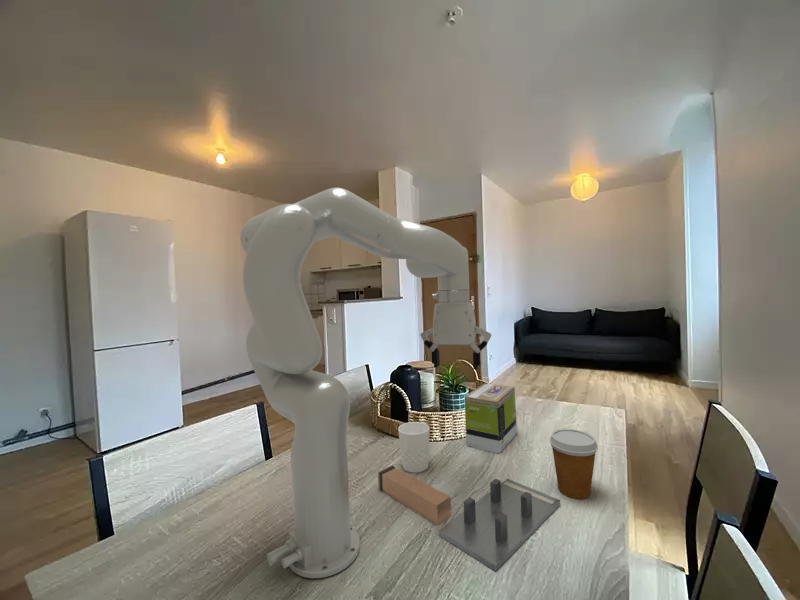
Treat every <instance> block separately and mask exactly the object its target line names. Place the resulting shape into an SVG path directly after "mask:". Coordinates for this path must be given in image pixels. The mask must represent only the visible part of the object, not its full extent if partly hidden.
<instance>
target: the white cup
mask: <svg viewBox="0 0 800 600" xmlns="http://www.w3.org/2000/svg"><path fill="white" fill-rule="evenodd" d="M397 430H398V438H399V439H398V440H399V441H398V442H399V450H400V457H401V458H400V459H401V467H402V469H403V470H405V472H408V473H413V474H415V473H417V474H418V473H421V472H425V471H426V470H428V468H429V465H430V463H429V457H430V425H428V424H427V423H424V422H421V421H410V422H405V423H402V424H400V425H399V426H398V428H397Z"/></svg>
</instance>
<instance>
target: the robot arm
mask: <svg viewBox="0 0 800 600" xmlns="http://www.w3.org/2000/svg"><path fill="white" fill-rule="evenodd" d="M239 238H240V244H241V247H242V249H243V251H244V252H245V254H246V256H245V259H244V264H243V270H242V286H243V290H244V291H243V292H244V295H245V298H246V301H247V304H248V306H249V309H250V310H249V311H250V312H251V315H252V319H253V320H254V323H253V324H252V325H251V326H250V329H249V330H248V332H247V335H246V338H245V339H246V340H245V345H246V347H245V349H246V353H247V357H248V359H249V362H250V365H251V366H252V369H253V371H254V373H255V376H256V378H257V379H258V382H259V385H260V387H261V389H262V391H263V393H264V396H265V398H266V400H267V401H268V403H269V405H270V406H271V407H272V409H273V410H274V411H275V413H277V414H278V415H280V416H282V417H284V418H286V419H288V420H289V421H290V422H292V423H293V424H294V435H293V438H292V439H293V440H292V444H291V452H290V463H291V464H290V465H291V480H292V481H291V482H292V498H293V499H292V500H293V515H294V517H293V518H294V520H293V521H294V529H293V530H291V531H289V539H288V540H286V541H285V542H284V545H282V546H280V547H277V548H275V549H273V550H272V551H270V552H269V553H268V552H267V553H266V554H267V555H266V558H267V563H268V565H269V566H270V567H273V566H274V565H277V563H280V562H281V566H282V568H283V569H287V568H288V567H289V569H290V570H291V571H292V572H293V573H294V574H295V575H298V576H300V577H304V578H308V579H323V578H327V577H328V578H329V577H330V576H331V577H332V576H333V575H336V574H338V573H340V572H342V571H344V570H345V569H347V567H349V566H350V565H351V564H352V563H353V562H354V560H356V559H357V556H358V555H359V553H360V548H361V538H360V534H359V532H358V530H357V529H355V527H353V526H352V525H351V514H350V513H351V511H350V493H349V492H350V491H349V471H348V470H349V469H348V466H349V465H348V449H347V443H348V442H347V438H348V436H347V435H348V425H349V416H350V409H351V407H350V406H351V400H350V395H349V392H348V390H347V388H346V387H345V384H343V383H342V381H340V380H339V379H337V378H336V377H334V376H333V375H329V374H328V373H324V372H321V371H320V372H319V371H316V370H313V369H315V368H316V367H317V366H318V364H319V363H320V361H321V359H322V356H323V344H322V343H323V342H322V339H321V337H320V334H319V332H318V329H317V326H316V324H315V321H314V318H313V316H312V313H311V310H310V307H309V306H308V303H307V300H306V297H305V294H304V291H303V287H302V283H301V282H302V281H301V275H302V274H301V272H302V267H303V263H304V262H305V259H306V257H307V255H308V253H309V251H310V250H311V248H312V247H313V245H314V244H316V243H318V242H319V241H323V240H325V239H330V238H336V239H340V240H341V241H344V242H346V243H349V244H351V245H352V246H355V247H358V248H359V249H361V250H363V251H366V252H367V253H369V254H372V255H373V256H376V257H380V258H384V259H385V258H386V259H394V260H406V261H405V264H406V269H407V270H408V272H409V274H411V275H413V276H414V277H417V278H421V279H427V278H430V279H431V278H437V292H435V293H432V299H433V300H437V302H438V303H435V304H434V309H433V316H432V317H433V318H432V319H433V320H432V327H430V328H428V329H426V330H424V331H423V332H421V333H420V338H421V340H422V341H423V343H424V345H425V346H426V347H427V348H428V349H429V351H430V352H431V364H433V367H434V368H435V369H437V368H438V367H440V364H441V363H440V350H439V346H470V347H471V348H472V350H473V353H472V362H473V363H472V365H473V367H472V369H473V370H477V369H478V368H479V366H481V352H482V351H483V349H485V347H486V346H488V343H489V341H490V339H491V338H492V333H491V332H489V331H487V330H484V329H482V328H481V327H479V326H477V325H476V323H477V322H476V315H475V308H474V304H473V303H472V302H470V271H469V269H470V268H469V252H468V249H467V247H465V246H462V244H461V243H460V242H459V241H458V240H456V239H455V238H454V237H452V236H451V235H450V234H447V233H446V232H444V231H442V230H439V229H438V228H434V227H431V226H429V225H426V224H425V225H424V224H421V223H420V224H419V223H416V222H414V221H410V220H406V219H402V218H397V217H395V216H392V215H391V214H390V213H387V212H386V211H384V210H382V209H381V208H379V207H377V206H376V205H374V204H372V203H371V202H369V201H367V200H365V199H364V198H362V197H360V196H358V195H357V194H356V193H353V192H352V191H350V190H348V189H345V188H342V187H330V188H327V189H325V190H321V191H320V192H317V193H315V194H313V195H310V196H308V197H306V198H304V199H301V200H299V201H297V202H294V203H285V204H284V203H283V204H280V205H277V206H275V207H272V208H269V209H267V210H265V211H264V212H262V213H261V212H260V214H257V215H255V216H253V217H251V218H249V220H247V221H246V222H245V223H244V225H243V226H242V229H241V231H240V237H239ZM431 334H432V341H433V342H432V341H431V339H429V335H431ZM477 334H478V335H480V336H482V337H483V339H482V342H481V343H480V344H479V342H477V337H478V336H477Z"/></svg>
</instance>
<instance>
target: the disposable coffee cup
mask: <svg viewBox="0 0 800 600" xmlns="http://www.w3.org/2000/svg"><path fill="white" fill-rule="evenodd" d="M550 435H551V436H550V437H549V443H550V445H551V448H552V449H551V450H552V454H553V463H554V468H555V474H556V481H557V489H558V491H559V492H560V493H561V494H562V495H563V496H565V497H568V498H571V499H576V500H584V499H587V498H589V497H591V491H592V482H593V477H594V476H593V474H594V467H595V460H596V453H597V451H598V448H599V445H598V442H597V441H596V438H595V437H594V436H593V435H591V434H590V433H587V432H584V431H582V430H577V429H571V428H566V429H565V428H563V429H556V430H554V431H552V432H551V434H550Z"/></svg>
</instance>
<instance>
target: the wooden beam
mask: <svg viewBox="0 0 800 600" xmlns="http://www.w3.org/2000/svg"><path fill="white" fill-rule="evenodd" d="M377 483H378V484H377V485H378V486H377V487H378V490H379V491H380V492H383V493H384V494H386V495H387V496H389V497H391V498H393V499H394V500H395V501H398V502H399V503H400V504H403V506H405V505H406V506H405V507H408V508H409V509H410V508H411V510H412V511H413V510H414V511H413V512H415V511H416V512H415V513H417V514H419V515H420V516H422V517H423V518H425V519H427V520H428V521H430V522H431V523H433V524H435V525H436V526H439V525H440V524H442V523H444V522H445V521H446V520H447V519H449V518H450V517H452V506H451V505H452V502H451V496H450V495H449V494H447V493H445V492H442V491H441V490H440V489H437V488H435V487H433V486H431V485H430V484H428V483H425V482H423V481H422V480H419V479H418V478H415V477H414V476H412V475H410V474H408V473H406V472H405V471H402V470H401V469H398V468H397V467H395V466H394V465H389V466H387V467H385V468H383V469H380V470H378V471H377Z"/></svg>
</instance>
